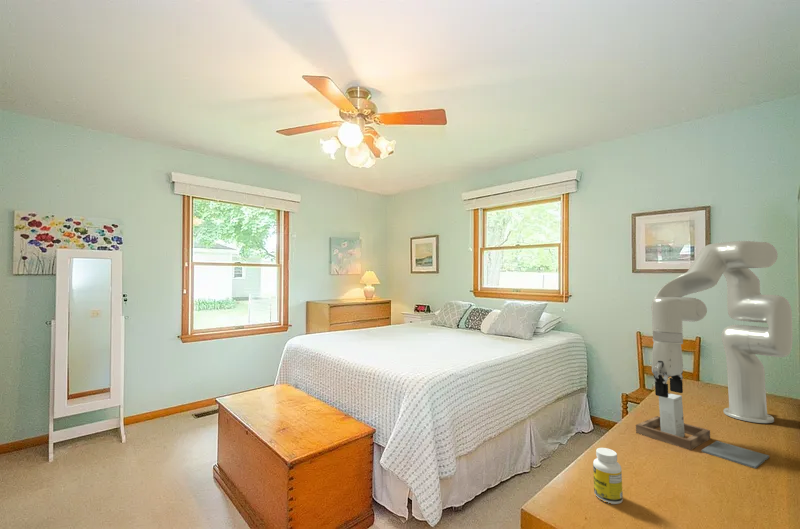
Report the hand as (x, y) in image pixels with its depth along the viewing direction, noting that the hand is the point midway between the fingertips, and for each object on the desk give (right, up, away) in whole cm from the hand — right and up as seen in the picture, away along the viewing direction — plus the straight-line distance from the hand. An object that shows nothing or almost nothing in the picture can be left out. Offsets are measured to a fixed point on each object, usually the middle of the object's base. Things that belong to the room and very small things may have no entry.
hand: (669, 394), depth 111 cm
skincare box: (+1, -13, 0) cm, 13 cm away
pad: (+8, -12, -13) cm, 19 cm away
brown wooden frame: (+1, -13, 0) cm, 13 cm away
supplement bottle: (-37, -11, -32) cm, 51 cm away
